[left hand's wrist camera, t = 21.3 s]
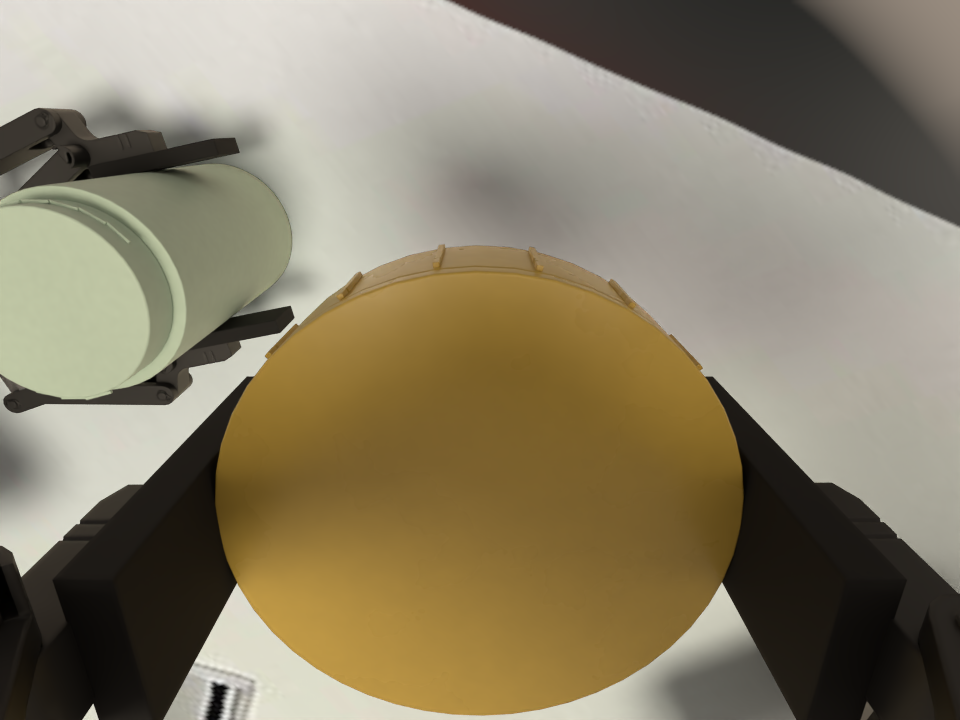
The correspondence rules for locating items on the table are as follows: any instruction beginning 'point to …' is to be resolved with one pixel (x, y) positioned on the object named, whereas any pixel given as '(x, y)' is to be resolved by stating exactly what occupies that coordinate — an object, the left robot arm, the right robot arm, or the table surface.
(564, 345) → the lid
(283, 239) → the jar
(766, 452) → the left robot arm
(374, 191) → the table surface
